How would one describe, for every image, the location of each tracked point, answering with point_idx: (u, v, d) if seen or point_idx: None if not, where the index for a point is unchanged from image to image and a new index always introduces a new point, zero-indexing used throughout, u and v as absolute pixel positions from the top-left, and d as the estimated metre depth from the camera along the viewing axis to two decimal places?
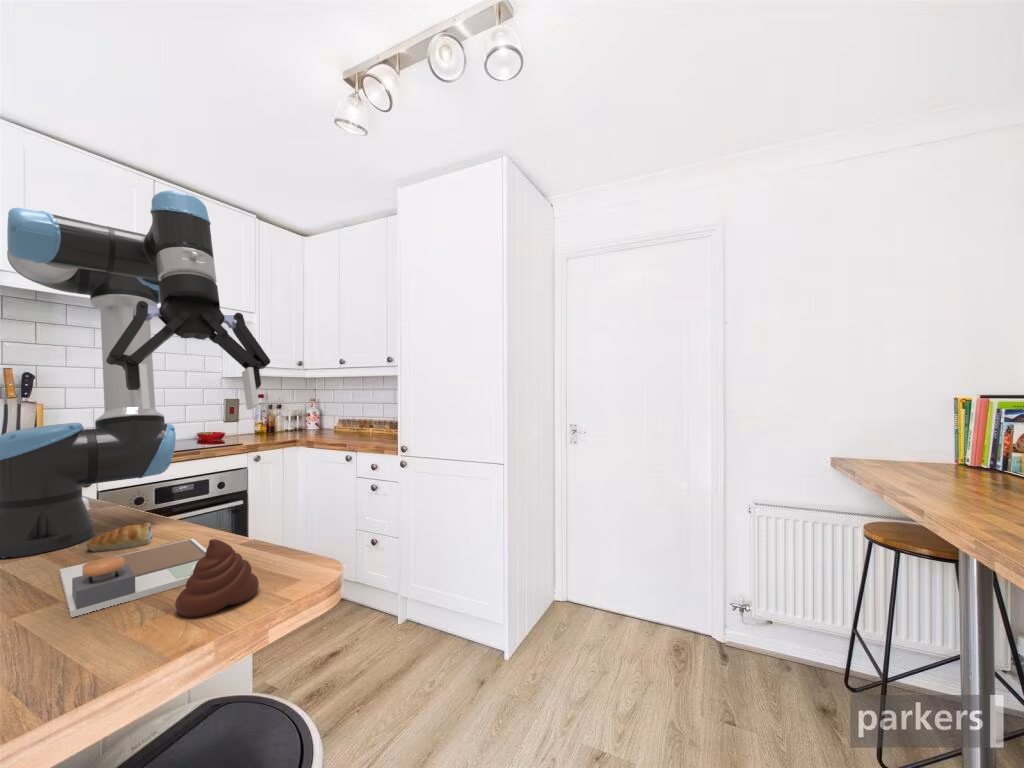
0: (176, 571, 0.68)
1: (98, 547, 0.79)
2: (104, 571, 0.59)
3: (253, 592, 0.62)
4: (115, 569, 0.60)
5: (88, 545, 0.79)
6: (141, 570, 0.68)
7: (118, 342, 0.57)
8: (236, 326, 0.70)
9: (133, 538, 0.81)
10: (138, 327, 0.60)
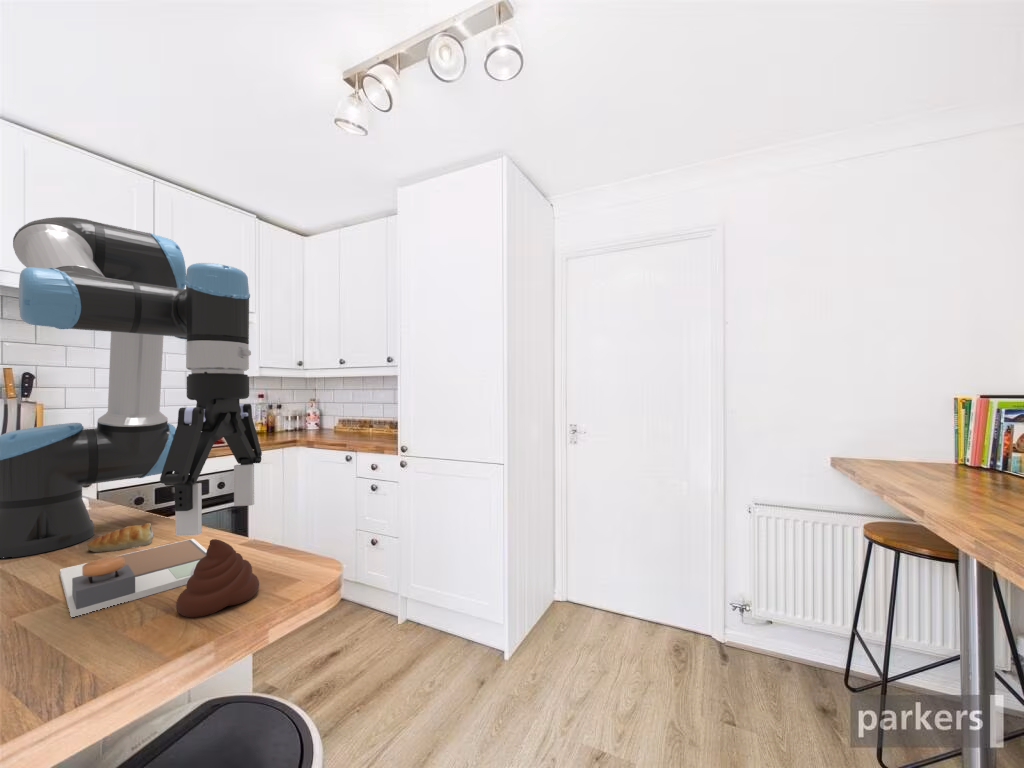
0: (176, 571, 0.68)
1: (99, 548, 0.78)
2: (104, 571, 0.59)
3: (254, 592, 0.62)
4: (115, 569, 0.60)
5: (89, 546, 0.78)
6: (141, 570, 0.68)
7: (186, 462, 0.52)
8: (244, 418, 0.67)
9: (135, 538, 0.81)
10: (197, 440, 0.54)
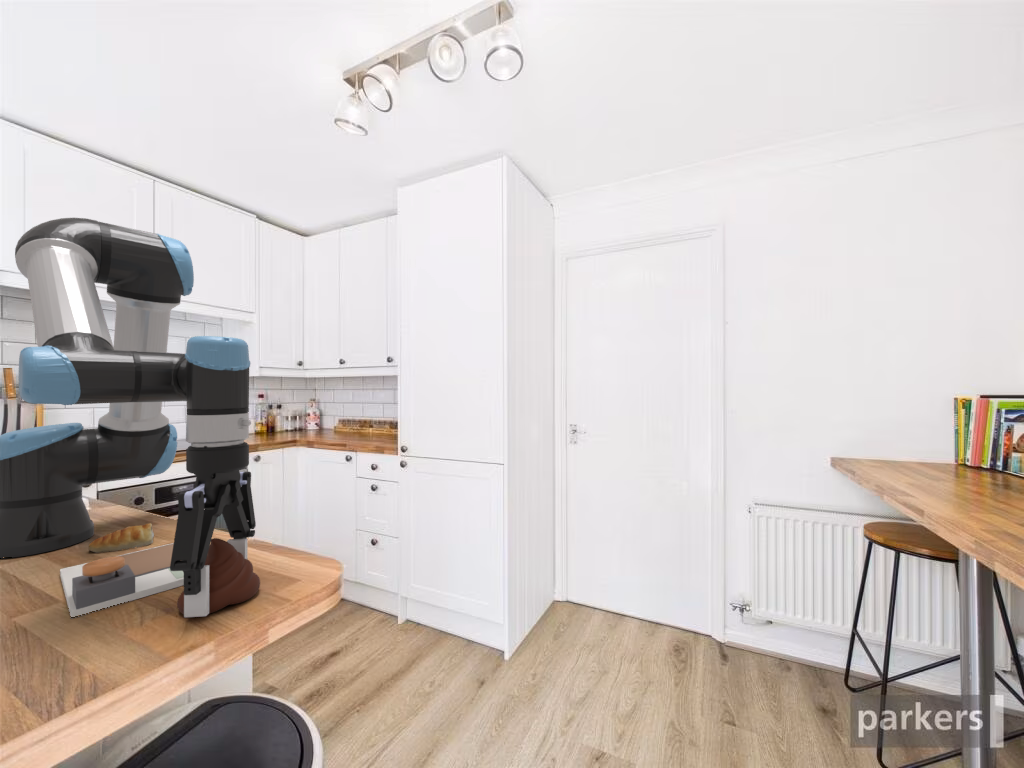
0: (176, 571, 0.68)
1: (100, 548, 0.78)
2: (104, 571, 0.59)
3: (255, 591, 0.62)
4: (115, 569, 0.60)
5: (90, 546, 0.78)
6: (141, 570, 0.68)
7: (193, 550, 0.54)
8: (242, 486, 0.67)
9: (136, 539, 0.81)
10: (201, 523, 0.55)
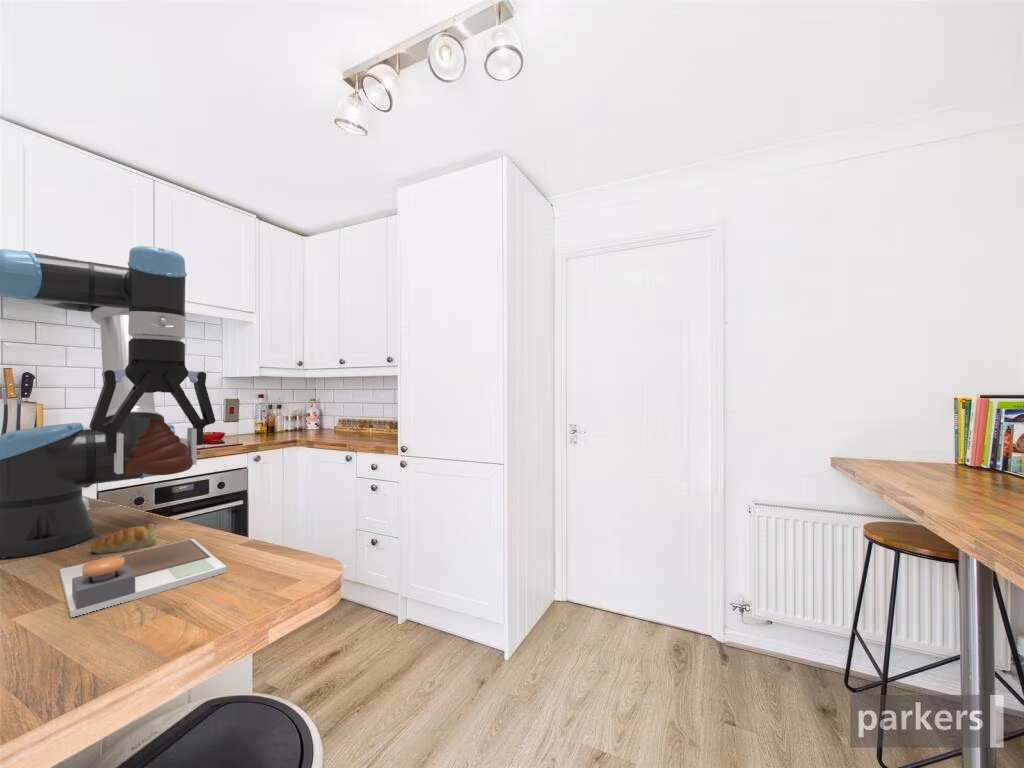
0: (176, 571, 0.68)
1: (103, 549, 0.78)
2: (104, 571, 0.59)
3: (167, 470, 0.70)
4: (115, 569, 0.60)
5: (92, 547, 0.77)
6: (141, 570, 0.68)
7: (96, 415, 0.66)
8: (196, 383, 0.77)
9: (140, 539, 0.81)
10: (110, 396, 0.67)
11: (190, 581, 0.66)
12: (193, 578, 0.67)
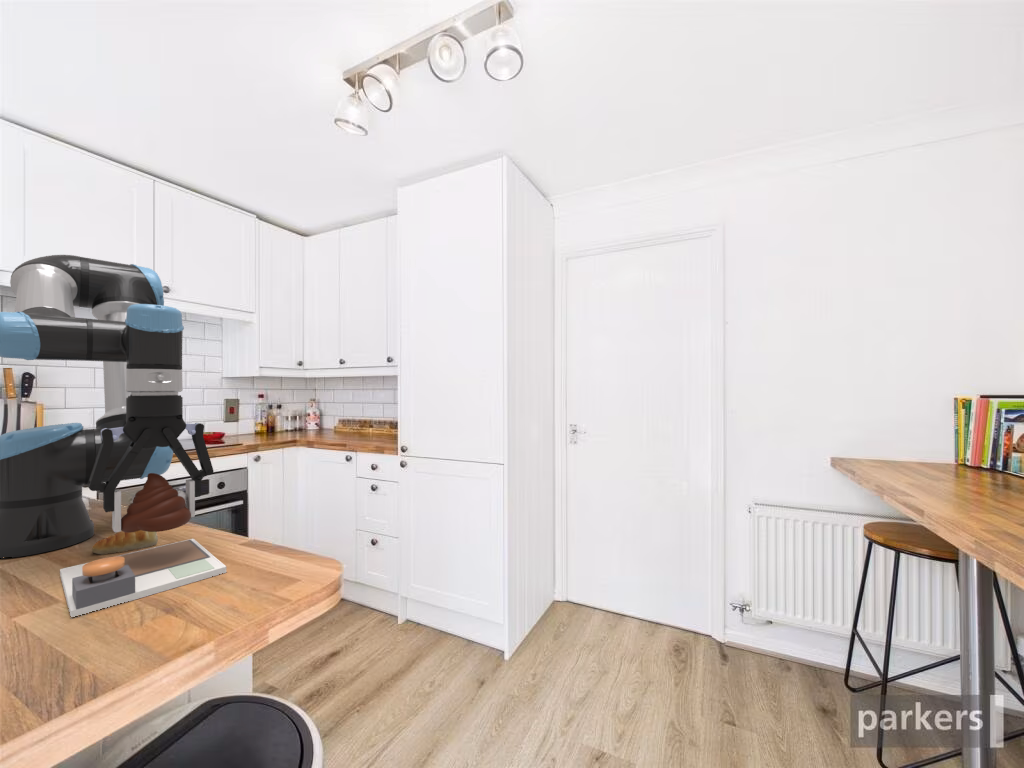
0: (176, 571, 0.68)
1: (105, 550, 0.78)
2: (104, 571, 0.59)
3: (164, 526, 0.70)
4: (115, 569, 0.60)
5: (94, 548, 0.77)
6: (141, 570, 0.68)
7: (94, 475, 0.66)
8: (194, 435, 0.77)
9: (142, 540, 0.80)
10: (108, 455, 0.68)
11: (190, 581, 0.66)
12: (193, 578, 0.67)
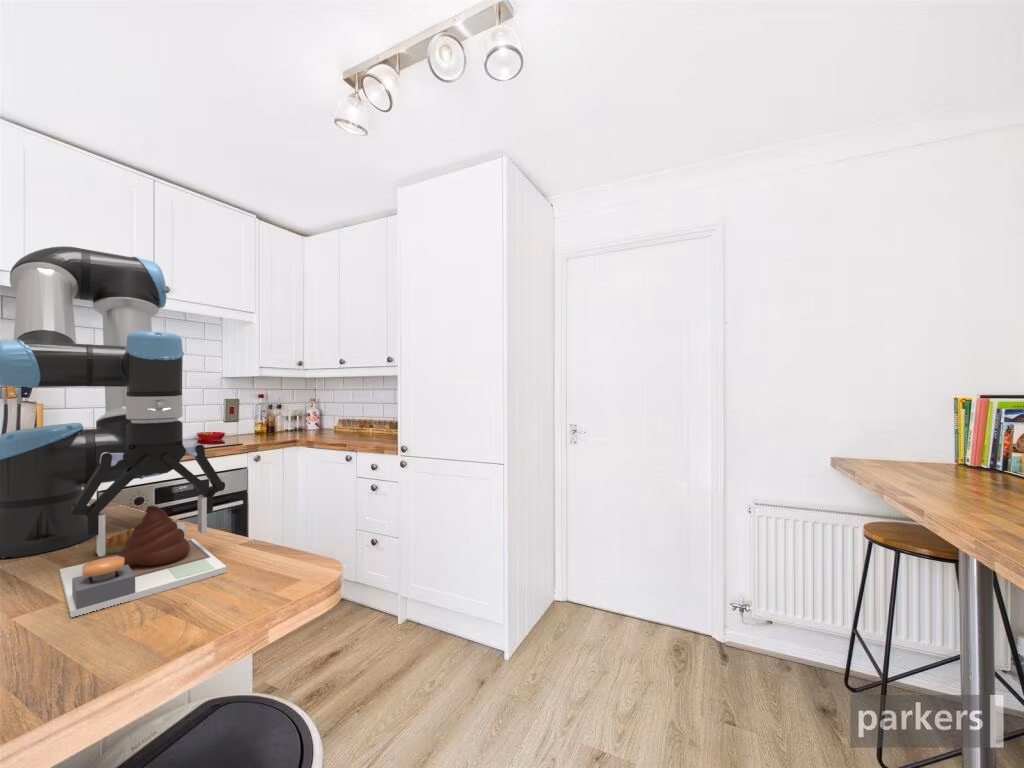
0: (176, 571, 0.68)
1: (107, 550, 0.77)
2: (104, 571, 0.59)
3: (163, 560, 0.70)
4: (115, 569, 0.60)
5: (96, 549, 0.77)
6: (141, 570, 0.68)
7: (81, 499, 0.65)
8: (196, 457, 0.77)
9: None
10: (101, 480, 0.67)
11: (190, 581, 0.66)
12: (193, 578, 0.67)
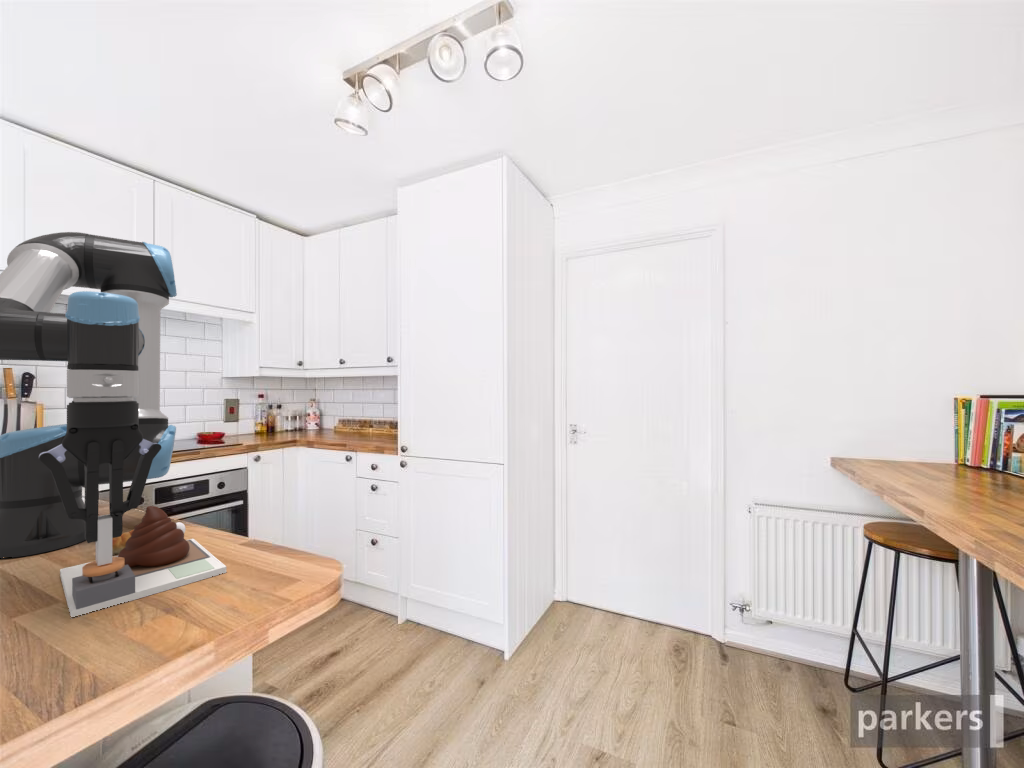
0: (176, 571, 0.68)
1: None
2: (104, 572, 0.59)
3: (162, 561, 0.70)
4: (115, 569, 0.60)
5: None
6: (141, 570, 0.68)
7: (65, 504, 0.57)
8: (143, 455, 0.64)
9: None
10: (66, 479, 0.57)
11: (190, 581, 0.66)
12: (193, 578, 0.67)
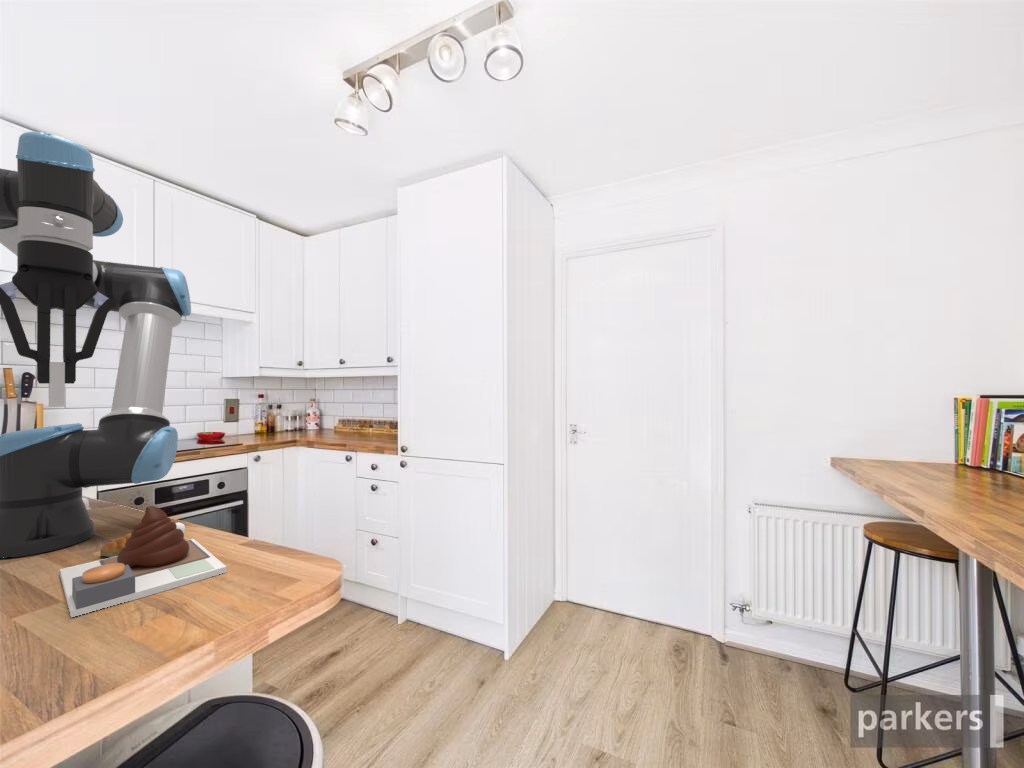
0: (176, 571, 0.68)
1: (117, 552, 0.76)
2: (104, 578, 0.59)
3: (162, 561, 0.70)
4: (115, 576, 0.60)
5: (104, 551, 0.76)
6: (141, 570, 0.68)
7: (15, 339, 0.58)
8: (98, 308, 0.64)
9: None
10: (16, 315, 0.58)
11: (190, 581, 0.66)
12: (193, 578, 0.67)
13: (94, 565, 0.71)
